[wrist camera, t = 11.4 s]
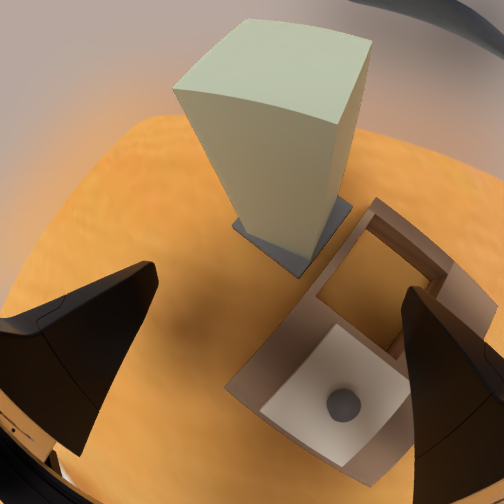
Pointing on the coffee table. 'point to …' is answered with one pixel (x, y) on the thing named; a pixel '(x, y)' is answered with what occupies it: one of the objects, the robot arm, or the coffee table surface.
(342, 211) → the charcoal mat
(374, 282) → the coffee table surface
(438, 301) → the robot arm
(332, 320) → the brown sliding lid box
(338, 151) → the sage block
